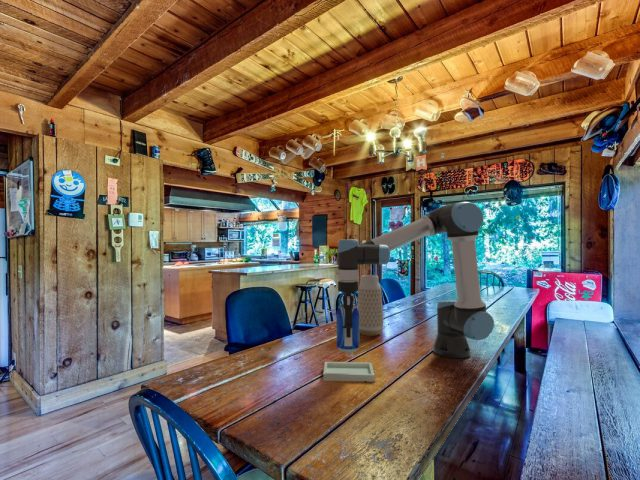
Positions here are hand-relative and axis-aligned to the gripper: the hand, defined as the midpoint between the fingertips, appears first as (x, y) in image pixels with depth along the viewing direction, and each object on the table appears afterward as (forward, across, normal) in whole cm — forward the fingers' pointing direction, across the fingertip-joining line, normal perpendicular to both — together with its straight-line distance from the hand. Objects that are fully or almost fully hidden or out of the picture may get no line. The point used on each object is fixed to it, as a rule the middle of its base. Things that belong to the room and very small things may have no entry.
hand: (348, 342), depth 124 cm
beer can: (+3, 0, 0) cm, 3 cm away
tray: (+12, 0, 0) cm, 12 cm away
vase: (+12, -55, +13) cm, 58 cm away
